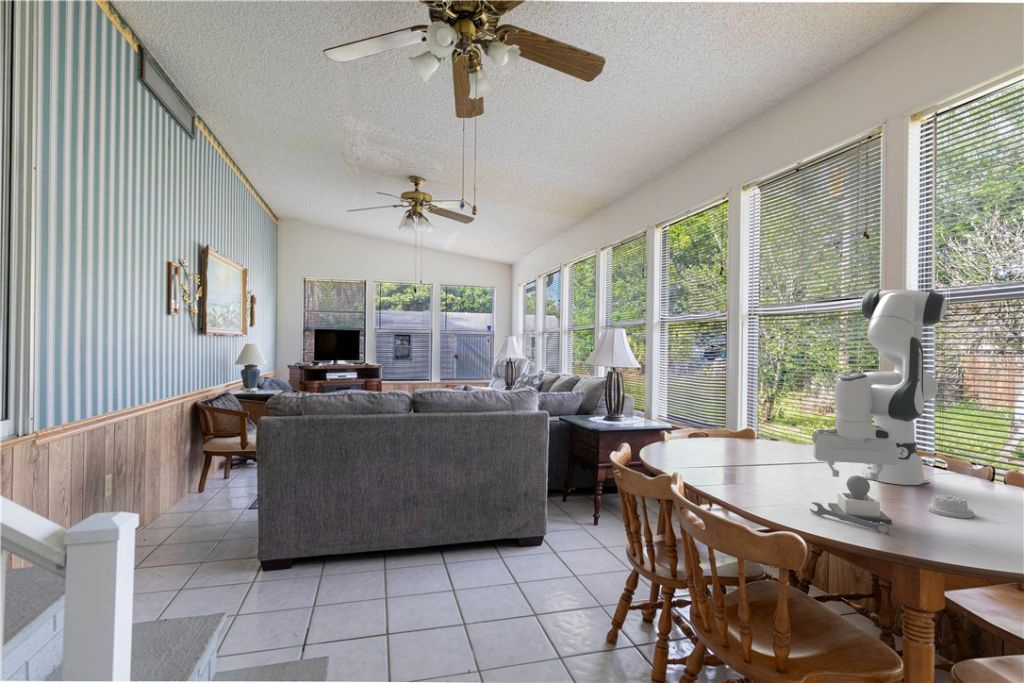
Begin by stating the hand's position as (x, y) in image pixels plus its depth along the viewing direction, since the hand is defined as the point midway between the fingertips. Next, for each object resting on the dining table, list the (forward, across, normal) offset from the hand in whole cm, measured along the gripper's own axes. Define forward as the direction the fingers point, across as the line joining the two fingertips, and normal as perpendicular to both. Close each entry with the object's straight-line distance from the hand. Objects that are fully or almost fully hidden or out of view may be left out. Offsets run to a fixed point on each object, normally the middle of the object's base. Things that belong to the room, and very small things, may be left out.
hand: (854, 477), depth 141 cm
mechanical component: (+11, +25, +10) cm, 29 cm away
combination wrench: (+10, -4, -10) cm, 15 cm away
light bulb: (+9, 0, -1) cm, 9 cm away
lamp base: (+10, 0, -1) cm, 10 cm away
